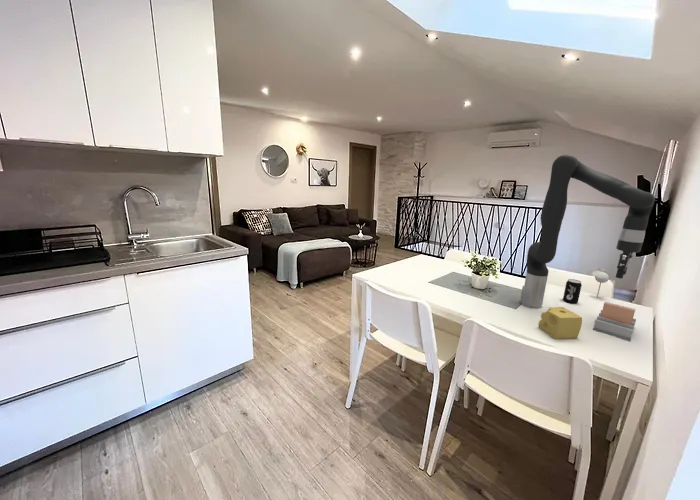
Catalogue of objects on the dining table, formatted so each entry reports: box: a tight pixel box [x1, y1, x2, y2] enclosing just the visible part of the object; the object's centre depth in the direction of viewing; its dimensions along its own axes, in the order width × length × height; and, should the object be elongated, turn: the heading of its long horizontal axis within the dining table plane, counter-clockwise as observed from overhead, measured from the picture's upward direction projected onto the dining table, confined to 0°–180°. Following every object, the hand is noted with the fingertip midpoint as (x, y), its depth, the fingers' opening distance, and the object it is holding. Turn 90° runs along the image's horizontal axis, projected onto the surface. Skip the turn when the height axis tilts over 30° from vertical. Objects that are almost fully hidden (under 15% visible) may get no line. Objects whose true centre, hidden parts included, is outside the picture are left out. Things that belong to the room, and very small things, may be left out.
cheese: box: [538, 306, 583, 340], centre depth 123 cm, size 10×11×10 cm
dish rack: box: [592, 309, 637, 342], centre depth 127 cm, size 17×12×4 cm
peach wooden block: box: [601, 301, 636, 325], centre depth 126 cm, size 2×10×10 cm, turn 42°
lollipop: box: [594, 271, 610, 299], centre depth 159 cm, size 6×6×15 cm
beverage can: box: [562, 278, 583, 305], centre depth 154 cm, size 7×7×12 cm
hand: (620, 276), depth 125 cm, fingers open, 8 cm apart
